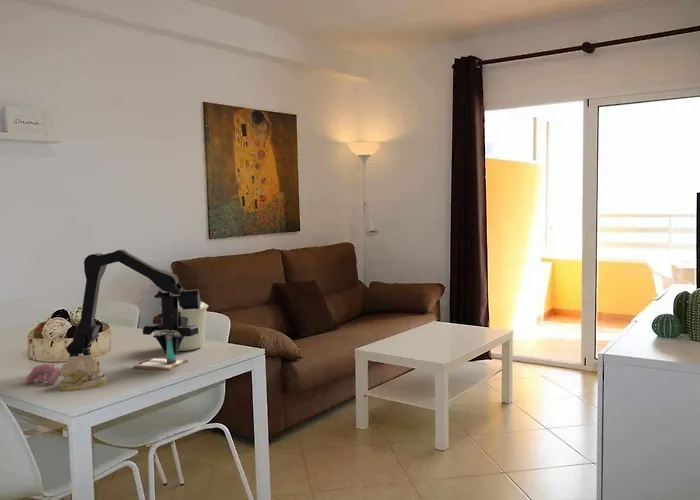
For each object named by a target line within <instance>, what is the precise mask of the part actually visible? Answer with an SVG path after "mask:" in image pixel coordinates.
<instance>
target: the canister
mask: <svg viewBox="0 0 700 500" xmlns="http://www.w3.org/2000/svg"><path fill="white" fill-rule="evenodd" d="M208 308H209V304H207V303H205V302H204V301H201V306H200V309H189V310H183V309H182V308H181V307H180V306H179V300H178V312H181V316H183V317H186V318H188V324H187V325H193V326H197V327H198V334H195V335H193V336H189V337H188V336H185V337H184V338H183V339H182V342H181V344H180V347H179V350H178V352H187V351H193V350H194V351H195V350H197V349H200V348H202V346H203V345H204V342H205V335H206V325H207V324H206V323H207V311H208ZM159 309H160V310H161V307H160V308H159ZM182 327H184V326H182ZM179 328H181V327H179ZM166 333H167V332H166ZM169 334H171V333H169ZM174 334H175V333H174Z"/></svg>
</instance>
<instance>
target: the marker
mask: <svg viewBox="0 0 700 500" xmlns="http://www.w3.org/2000/svg"><path fill="white" fill-rule="evenodd" d="M173 336H175V334H174V333H171V334H166V350H167V355H166V359H167V363H174V362H177V359H178V357H177V355H174V350H173V342H172V337H173Z"/></svg>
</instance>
